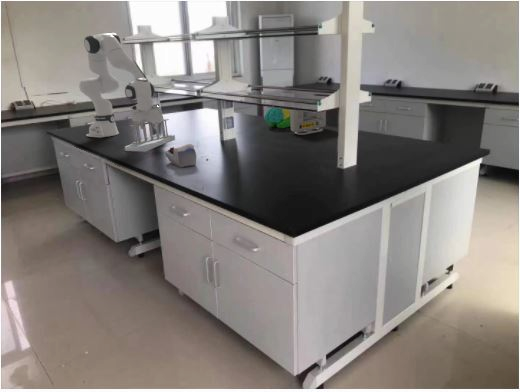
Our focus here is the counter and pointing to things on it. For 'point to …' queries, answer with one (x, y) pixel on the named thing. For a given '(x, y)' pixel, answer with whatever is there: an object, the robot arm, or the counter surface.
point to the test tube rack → (150, 132)
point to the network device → (307, 121)
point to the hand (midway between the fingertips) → (149, 129)
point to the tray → (148, 144)
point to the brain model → (278, 117)
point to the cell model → (182, 155)
